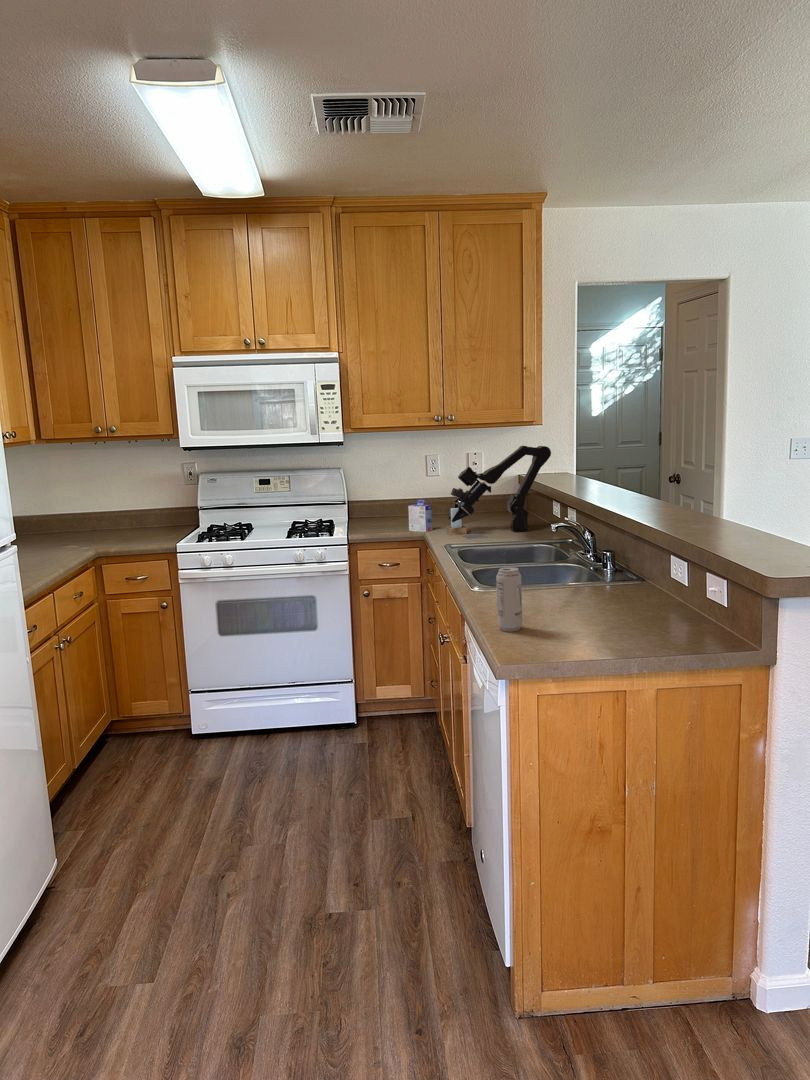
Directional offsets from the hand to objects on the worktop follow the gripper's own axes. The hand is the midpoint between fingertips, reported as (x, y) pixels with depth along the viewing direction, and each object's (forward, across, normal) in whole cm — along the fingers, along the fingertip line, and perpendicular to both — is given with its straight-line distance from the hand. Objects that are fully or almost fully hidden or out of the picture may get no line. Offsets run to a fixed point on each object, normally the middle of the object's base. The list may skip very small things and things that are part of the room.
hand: (450, 520), depth 326 cm
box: (+3, 0, +6) cm, 7 cm away
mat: (-1, +10, +11) cm, 15 cm away
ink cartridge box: (+13, -16, -3) cm, 21 cm away
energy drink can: (+11, +144, -2) cm, 144 cm away
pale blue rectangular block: (+3, 0, +6) cm, 7 cm away
